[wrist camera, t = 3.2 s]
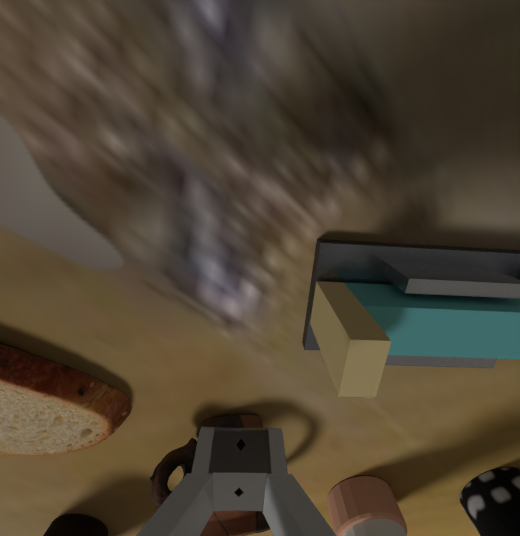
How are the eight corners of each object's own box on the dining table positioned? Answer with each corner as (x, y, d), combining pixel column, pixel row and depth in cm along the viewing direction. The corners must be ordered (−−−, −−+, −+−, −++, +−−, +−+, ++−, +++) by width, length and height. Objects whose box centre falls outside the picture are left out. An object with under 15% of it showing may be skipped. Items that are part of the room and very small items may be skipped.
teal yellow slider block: (316, 281, 19) (350, 339, 13) (513, 290, 20) (641, 349, 13) (309, 323, 20) (338, 396, 14) (495, 330, 21) (605, 402, 15)
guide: (317, 239, 20) (345, 269, 14) (619, 256, 21) (764, 290, 15) (302, 342, 23) (320, 403, 17) (566, 351, 24) (669, 410, 18)
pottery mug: (291, 409, 26) (311, 525, 21) (255, 428, 33) (263, 521, 27) (161, 413, 22) (146, 562, 16) (149, 435, 28) (136, 547, 23)
